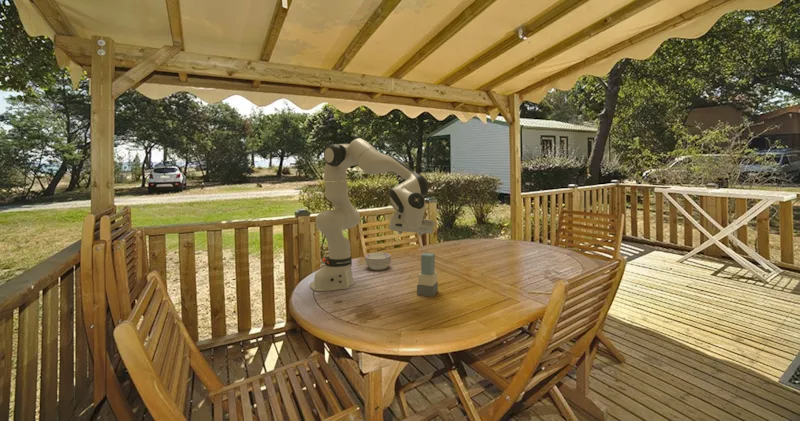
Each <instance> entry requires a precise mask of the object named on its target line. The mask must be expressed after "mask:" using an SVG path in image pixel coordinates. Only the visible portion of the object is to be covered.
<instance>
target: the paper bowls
mask: <svg viewBox="0 0 800 421" xmlns="http://www.w3.org/2000/svg"><path fill="white" fill-rule="evenodd" d="M364 258H365V265H366V266H368V267H369V269H370V270H372V271H373V270H374V271H382V270H385V269H386V270H387V268H388V265H390V264H391V263H392V256H391V254H390V253H388V252H371V253H367V254H366V255H365V257H364Z"/></svg>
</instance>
